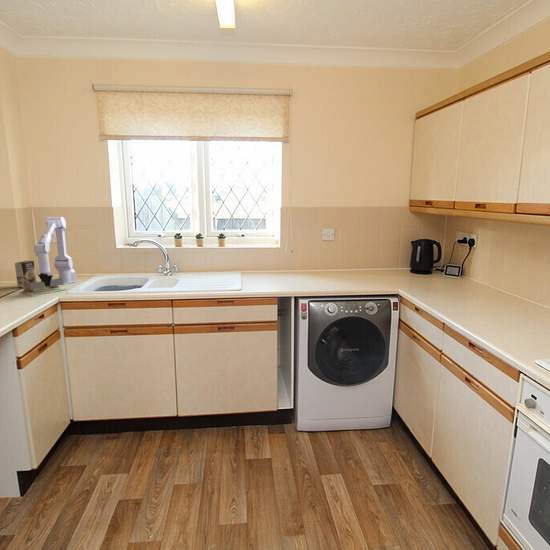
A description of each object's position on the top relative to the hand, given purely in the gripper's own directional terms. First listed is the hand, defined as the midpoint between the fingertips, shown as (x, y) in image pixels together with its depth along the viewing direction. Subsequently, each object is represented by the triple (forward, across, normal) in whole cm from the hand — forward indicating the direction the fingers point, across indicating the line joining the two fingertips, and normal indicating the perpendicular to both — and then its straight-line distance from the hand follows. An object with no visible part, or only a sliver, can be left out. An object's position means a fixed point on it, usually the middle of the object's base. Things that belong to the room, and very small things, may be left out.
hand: (46, 285), depth 241 cm
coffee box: (+4, -26, -2) cm, 26 cm away
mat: (+4, 0, 0) cm, 4 cm away
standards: (+4, -9, 0) cm, 10 cm away
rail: (0, 0, 0) cm, 1 cm away
